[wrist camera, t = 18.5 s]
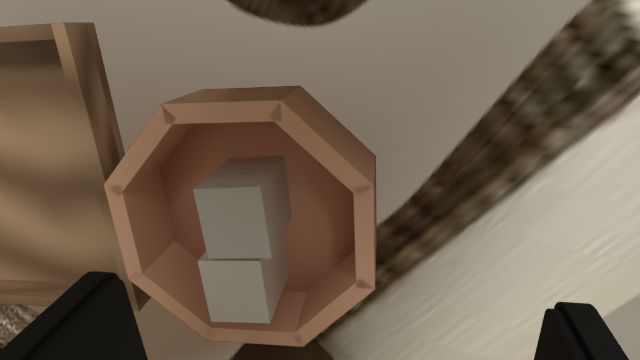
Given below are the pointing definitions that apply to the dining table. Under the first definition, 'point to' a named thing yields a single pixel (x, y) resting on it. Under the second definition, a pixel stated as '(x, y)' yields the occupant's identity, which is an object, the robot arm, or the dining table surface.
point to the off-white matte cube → (244, 207)
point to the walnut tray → (56, 164)
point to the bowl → (305, 199)
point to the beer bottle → (282, 352)
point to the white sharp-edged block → (244, 286)
